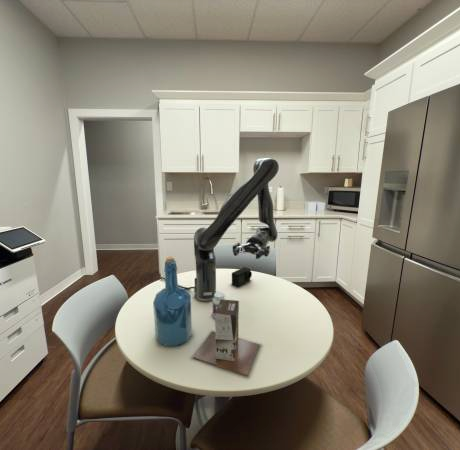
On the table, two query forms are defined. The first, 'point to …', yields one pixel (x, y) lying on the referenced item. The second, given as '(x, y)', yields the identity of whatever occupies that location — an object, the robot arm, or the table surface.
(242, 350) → the wooden board
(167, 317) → the wine bottle
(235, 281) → the digital camera
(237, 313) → the coffee box
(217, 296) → the pill bottle
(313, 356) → the table surface
